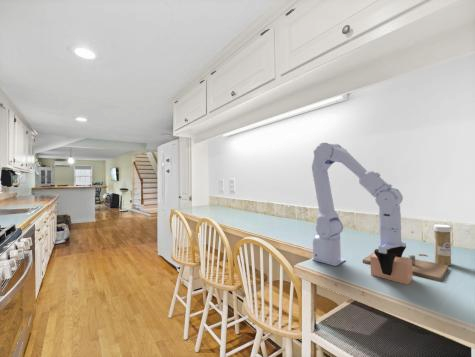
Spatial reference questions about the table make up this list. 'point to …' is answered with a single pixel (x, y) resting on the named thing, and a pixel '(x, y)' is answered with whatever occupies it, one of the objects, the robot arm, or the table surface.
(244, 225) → the table surface
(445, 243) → the sprinkles bottle
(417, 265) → the stub board
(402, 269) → the block
